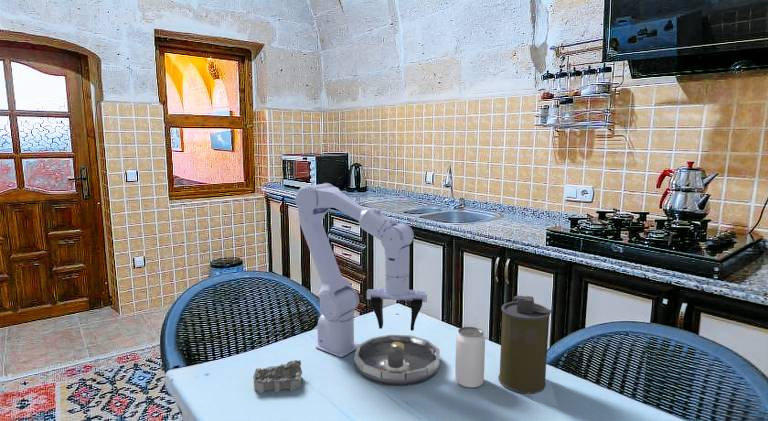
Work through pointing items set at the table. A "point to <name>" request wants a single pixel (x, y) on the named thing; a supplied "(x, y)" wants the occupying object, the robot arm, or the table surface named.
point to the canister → (524, 345)
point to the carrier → (415, 353)
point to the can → (470, 357)
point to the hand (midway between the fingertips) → (396, 328)
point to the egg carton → (277, 371)
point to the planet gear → (395, 361)
